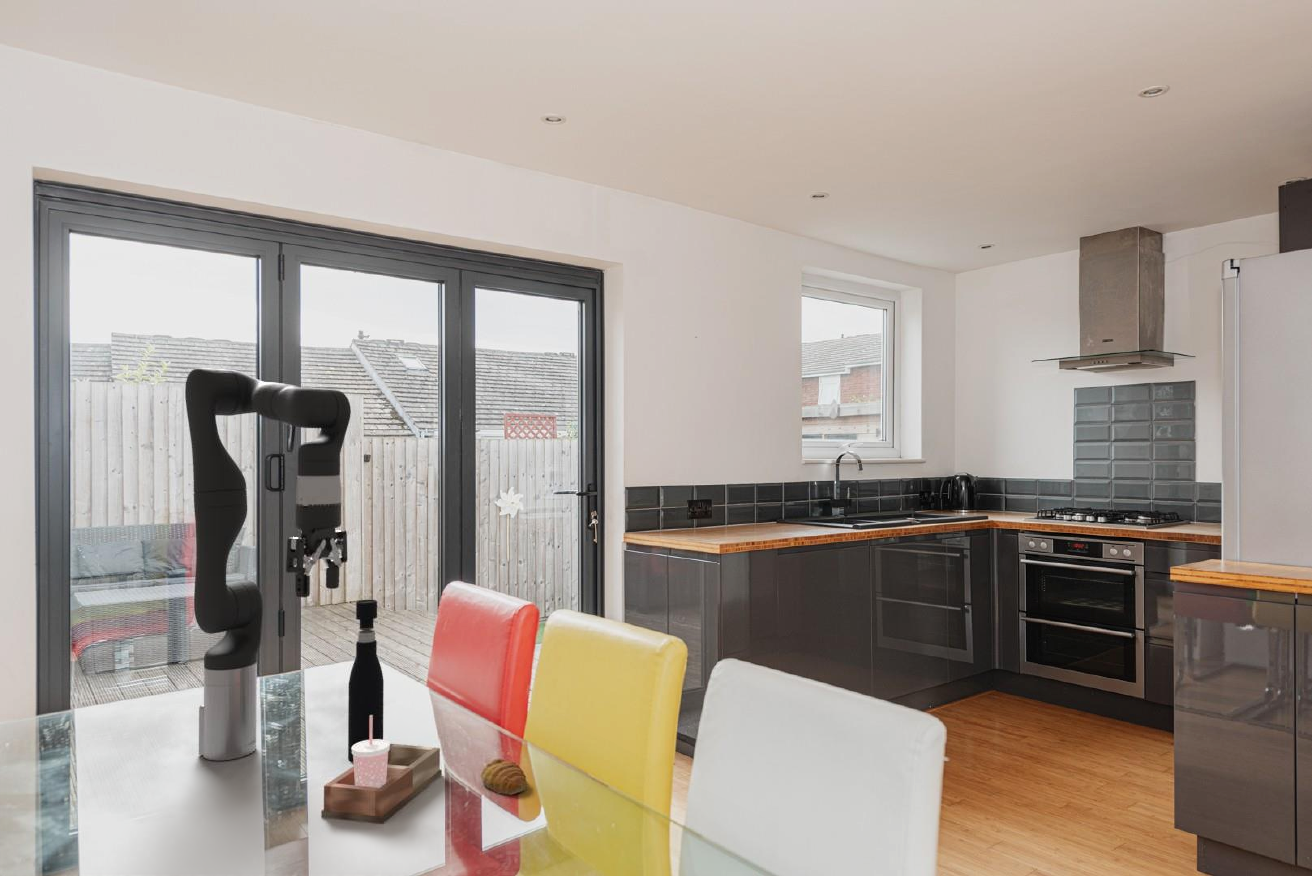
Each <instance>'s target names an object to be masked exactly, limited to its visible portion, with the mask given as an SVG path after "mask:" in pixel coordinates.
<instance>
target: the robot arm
mask: <svg viewBox="0 0 1312 876" xmlns="http://www.w3.org/2000/svg"><path fill="white" fill-rule="evenodd" d="M185 381H186V382H185V387H184V388H185V391H184V399H185V407H186V414H187V421H188V428H189V434H190V435H189V436H190V442H191V443H190V444H191V453H192V472H193V473H192V475H193V509H194V521H195V543H196V545H195V547H196V548H195V550H196V551H195V552H196V557H195V558H196V560H195V562H196V563H195V575H194V576H195V578H194V593H193V607H194V611H193V612H194V617H195V621H196V623H197V625H198V627H199V629H200V630H201V631H202V632H204V633H205V634H208V635H209V634H210V635H212V634H214V635H215V634H218V633H219V634H220V633H224V632H225V634H224V636H223V637H222V638H221V639H220V640H219V641H218V643H216V644H215V645H213V646H212V647H211V648H209V649H208V650H207V651H206V652H205V654H204V658H203V704H201V705H200V706H199V708H198V756H199V755H203V756H202V758H204V759H205V760H209V761H218V762H219V761H220V762H221V761H229V760H230V761H231V760H235V759H240V758H242V757H245V755H246V756H248V755H250V753H251V754H252V753H254V752H255V751H256V750H255V749H257V704H258V703H257V696H258V695H257V694H258V693H257V690H258V689H257V688H258V687H257V684H258V676H257V672H258V670H257V668H258V667H257V665H258V662H257V661H258V652H259V650H260V648H261V643H262V630H263V629H262V628H263V614H264V613H263V611H264V604H263V603H264V602H263V597H262V592H261V590H260V588H259V586H258V585H257V584H256V583H255V582H253V581H251V580H248V579H242V580H236V581H235V580H234V581H229V582H227V565H228V560H229V556H230V552H231V550H232V549H233V546H234V544H235V542H236V540H237V538H238V536H239V534H240V533H241V530H243V529H242V528H243V526H244V525H245V522H246V518H247V516H248V495H247V494H248V493H247V482H246V481H247V480H246V479H245V476H244V473H243V472H242V471H241V469H240V467H239V466H238V464H237V463H236V461H235V460H234V459H233V457H232V456H231V455H230V453H229V452H228V451H227V449H226V447H225V446H224V444H223V442H222V441H221V438H220V434H219V430H218V426H217V418H216V417H217V416H225V417H226V416H227V417H229V416H230V417H232V416H237V415H244V414H255V413H257V414H258V415H260V416H261V417H263V418H265V419H268V420H271V421H276V422H281V423H287V424H288V425H290V426H293V427H297V428H303V429H320V431H319V433H318V436H317V438H316V439H315V440H311V441H308V442H307V441H306V442H304V443H302V444H301V445H299V447H298V451H297V477H296V478H297V479H296V480H297V481H296V485H295V527H296V528H297V529H299V530H300V536H299V537H297V536H296V537H294V536H293V537H289V538H288V539H287V543H286V544H287V545H286V546H287V547H286V563H285V564H286V565H285V566H286V567H285V570H286V573H287V574H289V573H290V574H293V575H294V576H295V590H294V591H295V595H296V597H297V598H308V597H309V596H310V595H311V575H310V573H311V570H312V568H313V566H314V565H316V564H317V563H318V560H320V559H321V560H323V562H324V564H325V566H326V568H325V587H326V589H328V590H329V589H331V590H333V589H338V588H339V587H340V568H342V566H343V563H347V562H348V532H347V530H344V529H343V530H342V529H341V530H340V529H339V530H338V528H340V527H341V526H342V482H341V476H340V475H341V452H342V449H343V445H344V441H345V437H346V434H347V430H348V427H349V423H350V420H351V415H352V414H351V413H352V410H351V408H352V407H351V404H350V401H349V398H348V396H347V395H346V394H345V393H344V392H342V391H340V390H336V389H328V388H327V389H324V388H308V387H301V386H298V385H294V384H288V383H282V382H273V381H272V382H271V381H270V382H269V381H268V382H267V381H263V380H259V379H258V378H255V377H253V376H251V375H248V374H246V373H244V372H241V371H238V370H234V369H225V368H223V369H222V368H210V367H196V368H194V369H191V371H190V372H188V375H187V377H186V380H185ZM340 552H341V553H340ZM340 554H341V555H340ZM294 559H295V561H296V563H295V565H294ZM304 565H305V566H304ZM253 751H254V752H253Z"/></svg>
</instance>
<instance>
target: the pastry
mask: <svg viewBox="0 0 1312 876" xmlns="http://www.w3.org/2000/svg"><path fill="white" fill-rule="evenodd" d="M480 777H481V780H482V783H483V785H484V786H486V788H487V789H489V788H490V789H492V790H491V791H493V790H494V791H493V792H495V791H497V792H496V793H498V792H500V793H499V794H501V793H502V794H501V795H510V796H513V795H515V794H517V793H520V792H523V791H525V790H524V789H526V788H527V786H528V782H527V777H526V775H525V773H524V771H523V770H522V768H521V767H520V766H519V764H517V763H515V762H514V761H507V759H504V758H496V759H493V760H492V761H490V762H489V763H487V764H486V765H485V766H484V768H483V769H482V772H481V775H480ZM490 789H489V790H490Z"/></svg>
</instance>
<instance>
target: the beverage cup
mask: <svg viewBox="0 0 1312 876" xmlns="http://www.w3.org/2000/svg"><path fill="white" fill-rule="evenodd" d="M372 729H373V715H370V732H369V740H365V741H361V742H358V743H356V744H354V745H353V746H352V748H351V750H352V754H353V759H354V762H353V766H354V777H355V785H356V786H366V787H375V788H380V787H381V786H383V785H384V784H385V783H386V776H387V761H388V751H389V749H390V744H391V743H390V741H389V740H385V739H383V740H381V739H372Z"/></svg>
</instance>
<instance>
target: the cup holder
mask: <svg viewBox="0 0 1312 876" xmlns="http://www.w3.org/2000/svg"><path fill="white" fill-rule="evenodd" d="M440 752H441V748H440V747H432V746H423V745H422V746H421V745H411V744H409V745H408V744H401V743H400V744H399V743H390V749H389V751H388V761H387V776H386V783H385V784H384V785H383V786H381V787H380V788H375V787H366V786H356V785H355V777H354V765H353V766H351V767H350V768H348V769H347V770H346V771H344V772H343V773H340V774H339V775H338V776H337V777H335V778H334V779H331V780H330V781H329V782H327V783H326V784H324V785H323V809H321V813H320V814H321V815H320V816H321V818H326V819H336V820H345V821H352V822H353V821H354V822H364V823H372V824H381V825H383V824H384V823H386V822H387V821H388V820H389V819H391V818H392V817H393V816H394V815H396V814H397V813H398V812H399V811H400V810H401V809H403V808H404V807H405V806H406V805H408V804H409V803H410V802H411V801H413V800H414V799H415V798H416V797H417V796H419V795H420V794H421V793H422V792H423V791H425V790H426V789H427V788H428V787H429V786H431V785H432V784H433V783H434V782H435V781H437V780H438V779H439V778H441V777H442V774H443V769H441V759H440V758H441V757H440V756H441V753H440Z"/></svg>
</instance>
